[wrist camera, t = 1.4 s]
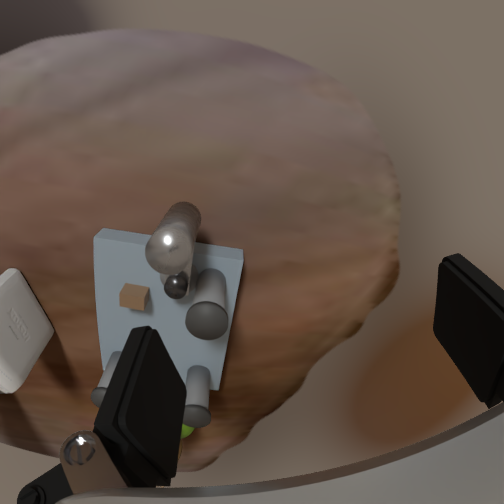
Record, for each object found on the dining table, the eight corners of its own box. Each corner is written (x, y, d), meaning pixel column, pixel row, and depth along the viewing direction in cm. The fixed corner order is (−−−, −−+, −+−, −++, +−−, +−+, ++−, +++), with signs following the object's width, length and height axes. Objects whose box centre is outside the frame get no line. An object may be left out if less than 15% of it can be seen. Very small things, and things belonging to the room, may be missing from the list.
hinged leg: (192, 290, 29) (180, 346, 22) (163, 285, 29) (142, 340, 21) (204, 201, 26) (192, 236, 19) (171, 196, 26) (146, 228, 18)
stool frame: (218, 375, 38) (217, 434, 29) (108, 356, 36) (86, 410, 28) (242, 249, 31) (246, 300, 23) (103, 227, 29) (61, 268, 21)
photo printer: (60, 333, 34) (18, 402, 23) (39, 338, 35) (-3, 403, 23) (20, 262, 30) (-41, 320, 19) (0, 271, 31) (-58, 326, 19)
